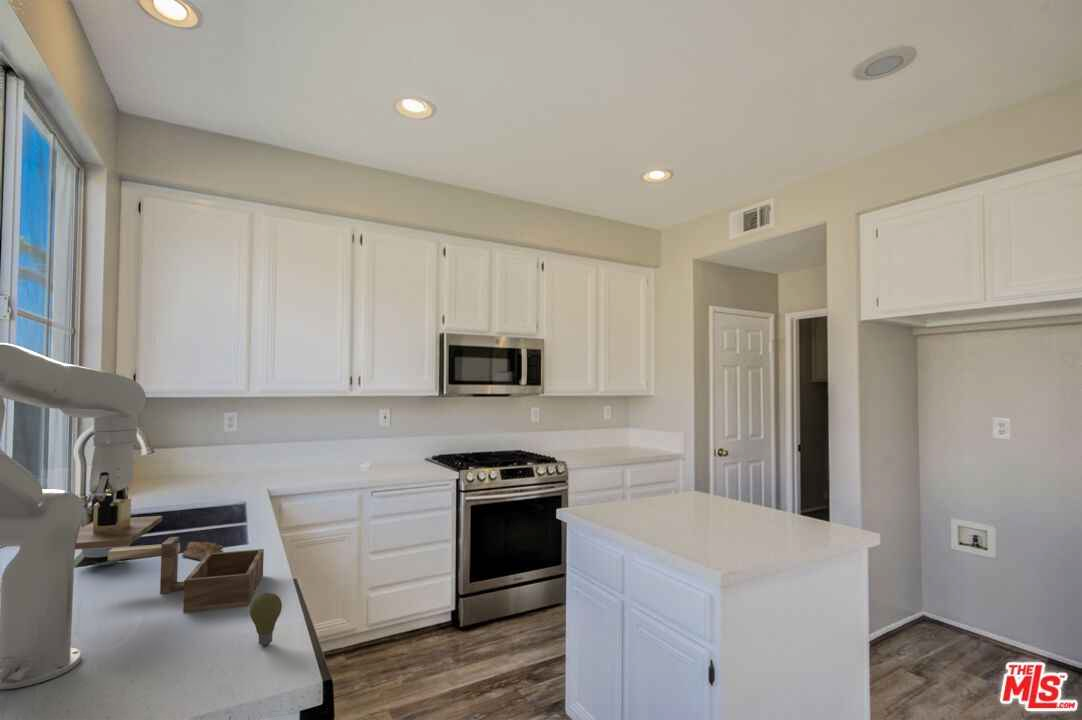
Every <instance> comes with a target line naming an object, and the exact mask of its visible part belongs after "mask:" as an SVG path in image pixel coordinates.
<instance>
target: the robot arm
mask: <svg viewBox="0 0 1082 720" xmlns="http://www.w3.org/2000/svg"><path fill="white" fill-rule="evenodd" d="M146 398H147V396H146V392H145V390H144V387H142V385H141V384H140V383H138V382H137V381H136V380H134V379H132V378H129V377H127V376H124V375H121V374H117V373H114V372H108V371H104V370H100V369H99V370H98V369H95V368H88V367H84V366H80V365H75V364H67V363H64V362H60V361H57V360H56V359H52V358H49V357H47V356H44V355H41V354H40V353H37V352H36V351H35V352H34V351H33V350H30V349H27V348H24V347H22V346H18V345H15V344H11V343H5V342H0V442H1V440H2V433H3V427H4V426H3V425H4V422H5V413H6V406H5V401H4V399H6V400H10V401H15V402H18V403H22V404H26V405H31V406H33V407H38V408H44V409H54V410H55V409H57V410H60V411H61V413H63V414H64V415H66V416H68V417H71V418H78V419H79V418H80V419H82V418H87V419H88V418H93V440H92V441H93V442H92V443H93V444H92V446H93V447H94V450H93V455H92V459H91V460H92V461H91V467H90V479H89V492H90V493H91V494H94V495H95V496H96V498H97V501H98V504H97V507H98V519H97V525H98V526H111V525H115V524H116V518H117V506H115V501H116V499H124V498H129V492H128V491H129V486H131V485H133V479H134V448H133V447H134V446H133V445H137V440H138V439H137V438H138V437H137V436H138V435H137V433H138V432H137V431H138V414H140V413H141V412H142V411H143V410H144V407H145V405H146V401H147V399H146ZM107 490H110V491H107ZM106 495H111V499H110V497H109V496H106ZM95 496H94V497H95ZM83 516H84V503H83V501H82V499H81V498H80V497H79V496H78V495H77V494H75V493H73V492H71V491H69V490H64V489H53V488H51V489H50V488H49V489H43V486H42V483H41V482H40V481H39V479H38V478H37V477H36V475H34V474H33V473H32V472H31V471H30V470H28V469H27V468H26V467H24V466H23V465H21V464H20V463H19V462H18V461H16V459H13V458H12V457H11V456H9V455H8V454H6V452H5V451H3V450H2V448H1V447H0V547H19V550H18V552H17V553H16V555H14V557H13V558H12V559H11V560H10V561H9V563H7V565H6V567H5V568H4V570H3V572H2V576H1V582H0V583H1V584H0V690H12V689H19V688H20V689H21V688H24V687H29V686H33V685H37V684H40V682H41V683H43V681H44V682H47V681H49V679H50V680H52V679H54V678H57V677H58V676H59V677H60V676H61V675H64V674H65V673H67V672H69V671H71V670H72V669H73V668H75V667H77V665H78V664H79V663H80V662H81V661H82V655H83V654H82V651H81V650H80V649H78V648H75V647H72V624H73V600H74V599H73V598H74V596H73V595H74V578H75V577H74V575H75V574H74V572H75V559H76V558H75V556H76V555H75V554H76V549H75V548H76V542H77V537H78V533H79V529H81V526H82V525H81V524H82V521H83ZM46 680H47V681H46Z"/></svg>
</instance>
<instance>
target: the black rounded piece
mask: <svg viewBox="0 0 1082 720" xmlns="http://www.w3.org/2000/svg"><path fill="white" fill-rule="evenodd" d="M106 496H109V497H110V499H111V495H106ZM96 503H98V501H97V498H96V496H94V497H93V498H92V500H91V506H92V508H91V511H90V513H89V514H87V515H88V517H89V523H88V524H90V523H92V522H93V519H94V504H96ZM119 547H130V545H126V546H114V547H101V548H87V549H81V555H82V556H83V557H85V558H86V559H87V560H89V562H91V563H93V564H94V563H95V564H96V565H98V566H110V565H112V564H114V563H117V562H119V561H120V560H121V559H116V560H108V551H110V550H111V549H113V548H119Z"/></svg>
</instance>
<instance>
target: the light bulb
mask: <svg viewBox="0 0 1082 720" xmlns="http://www.w3.org/2000/svg"><path fill="white" fill-rule="evenodd" d="M282 609H283V603H282V600H281V598H280V597H279V595H277V594H276V593H273V592H264V593H261V594H259V595H258V596H257V597H255V599H253V601H252V603H250V608H249V614H250V618H251V620H252V622H253V624H254V626H255V631H256V633H257V635H258V642H257V643H258V644H259V645H260V646H262V647H268V646H269V645H270V644H271V643H272V642H273V634H274V633H273V632H274V630H275V627H276V623H277V621H278V618H279V617H280V616H281V615H280V614H281V613H282Z"/></svg>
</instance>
